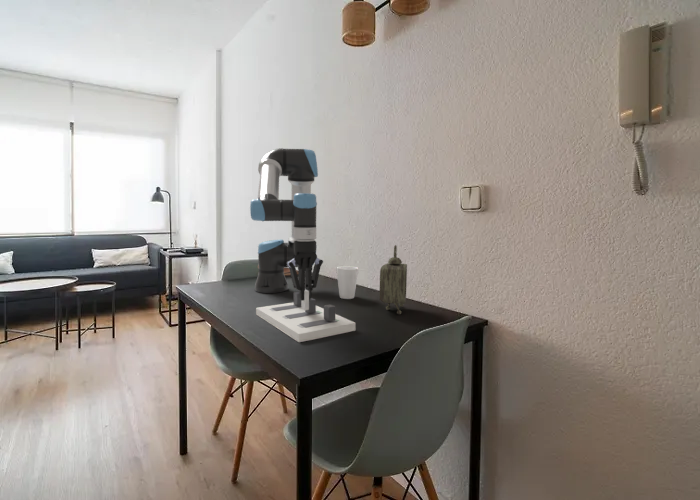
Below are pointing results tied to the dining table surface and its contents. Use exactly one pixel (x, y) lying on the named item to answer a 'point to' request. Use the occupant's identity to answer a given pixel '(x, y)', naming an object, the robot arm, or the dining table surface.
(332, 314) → the handle
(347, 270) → the foam cup
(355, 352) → the dining table surface
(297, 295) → the handle
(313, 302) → the handle
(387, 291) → the tabletop clock
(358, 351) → the dining table surface
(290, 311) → the breaker panel
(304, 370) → the dining table surface
